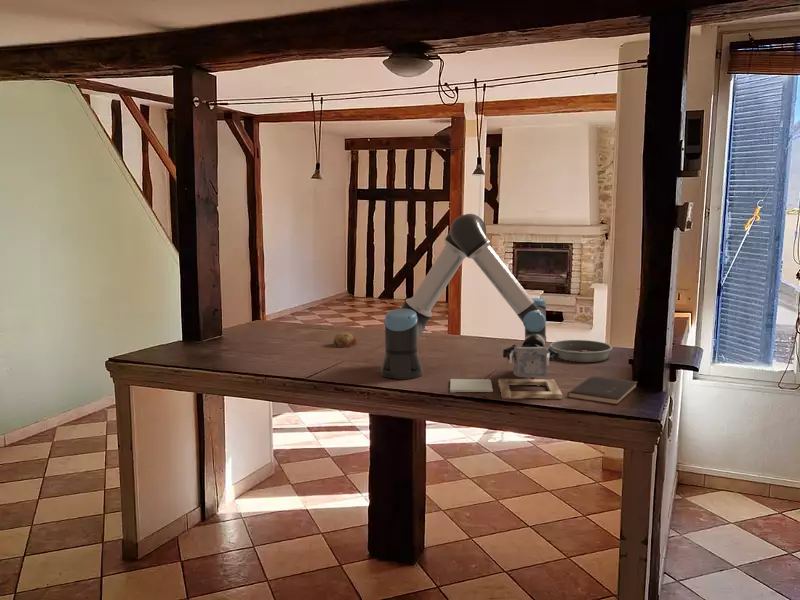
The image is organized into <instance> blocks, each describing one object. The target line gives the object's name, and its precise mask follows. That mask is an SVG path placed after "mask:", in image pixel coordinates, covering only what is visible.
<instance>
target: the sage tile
mask: <svg viewBox="0 0 800 600" xmlns="http://www.w3.org/2000/svg"><path fill="white" fill-rule="evenodd" d="M449 385H450V387H449V391H450V392H449V393H456V392H493V393H494V390H493V384H492V380H491V379H490V378H488V379H487V378H485V379H482V378H477V379H475V378H450V383H449Z"/></svg>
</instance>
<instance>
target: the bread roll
mask: <svg viewBox="0 0 800 600" xmlns="http://www.w3.org/2000/svg"><path fill="white" fill-rule="evenodd" d="M333 345H334V347H336V346H337V348H343V347H345V348H351V347H350V346H352V347H354V345H355V346H356V345H357V339H356V336H355V335H354V334H352V333H351V332H349V331H341V332H338V333H337V334H335V336H334V339H333Z"/></svg>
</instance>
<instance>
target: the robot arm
mask: <svg viewBox="0 0 800 600" xmlns="http://www.w3.org/2000/svg"><path fill="white" fill-rule="evenodd" d="M486 234H487V228H486V223H485V221H484V220H483V219H482V218H481V217H480V216H479V215H476V214H474V213H465V214H461V215H459V216H458V217H456V218H454V220H453V222H452V223H451V225H450V230H449V232H448V234H447V235H446V237H445V238H444V242H445V246H444V248H443V249H442V250H441V251H440V254H439V255H438V257H437V258H436V260H435V261H434V263H433V265H432V266H431V268H430V269H429V271H428V273H427V274H426V275H425V277H424V279H423V280H422V282H421V283H420V284H419V286H418V288H417V289H416V291H415V292H414V294H413V295H412V297H409V298H406V299H405V301H404V302H403V304H402V305H401V307H400V308H396V309H393V310H392V309H391V310H389V311H387V313H385V316H384V336H385V337H384V339H385V341H384V342H385V343H384V344H385V353H384V359H383V362H382V364H381V369H380V375H381V376H382V377H383V376H384V377H383V378H386V377H387V378H386V379H391V378H394V379H393V380H409V379H417V378H419V377H421V376H422V375H423V366H422V363H421V361H420V357H419V353H418V337H419V336H420V335H421V334H422V333H423V332H424V330H425V328H426V326H427V324H428V323H429V322H430V320H431V317H432V316H433V314H432V309H433V308H434V306H435V304H436V303H437V301H438V300H439V298H440V297H441V295H442V293H443V292H444V291H445V290H446V287H447V286H448V285H449V283H450V282H451V280H452V278H453V277H454V275H455V274H456V272H457V271H458V269H459V268H460V266H461V265H462V263H463V262H464V260H465V259H466V258H468V259H472V260H473V262H475V264H476V265H477V267H479V269H480V270H481V271H482V272H483V274H484V275H485V276H486V277H487V279H488V281H490V283H491V284H492V285H493V286H494V288H495V289H496V290H497V292H499V294H500V295H501V296H502V298H503V299H504V300H505V301H506V303H507V304H508V306H510V308H511V309H512V311H513V312H514V313H515V314H516V315H517V317H518V318H519V319H520V321H521V323H523V327H524V340H523V342H522V345H521V346H520V347H539V346H540V347H545V348H546V343H547V336H546V334H547V330H546V329H547V327H546V324H547V313H546V311H547V306H546V304H547V303H546V300H545V299H544V298H541V297H540V298H539V297H531V296H530V294H529V293H528V292H527V291H526V289H525V288H524V287H523V286H522V285H521V283H520V282H519V281H518V279H517V278H516V277H515V276H514V274H513V273H512V271H511V270H510V269H509V268H508V266H507V265H506V264H505V263H504V261H502V259H501V258H500V256H499V255H498V254H497V253H496V251H495V250H494V249H493V248H492V246H491V240H490V239H489V238H488V237H487V235H486ZM516 346H517V345H516V344H512V346H509V347H507V348H505V349H503V350H502V357H503V358H507V360H508V361H509V364H513V363H514V347H516ZM546 349H547V359H546V366H547V367H549V366H550V362H554V361H559V360H560V359H559V353H558V352H557V351H555V350H554V349H553V347H550V346H549V347H547V348H546Z"/></svg>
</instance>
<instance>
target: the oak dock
mask: <svg viewBox="0 0 800 600" xmlns="http://www.w3.org/2000/svg"><path fill="white" fill-rule="evenodd" d="M497 380H498V381H497V382H498V383H499V384H498V383H497V384H498V389H499V388H500V389H499V393H500V392H501V393H500V397H503V398H502V399H524V398H545V400H551V399H552V400H562V399H563V393H562V391H561V390H560V387H559V386H558V384H557V382H556V381H555V380H556V379H552V378H551V379H548V378H546V379H543V378H542V379H540V378H539V379H538V378H537V379H536V378H534V379H533V380H532V379H531V378H530V379H529V378H528V379H527V378H498V379H497ZM509 385H537V386H536V387H541V386H540V385H543V386H542V387H545V386H546V389H547V390H548V391H543V390H542V391H537V390H536V391H531V390H529V391H525V390H523V391H522V390H521V391H519V390H516V391H514V390H511V389H510V388H511V387H510V386H509ZM544 385H545V386H544ZM507 397H509V398H507ZM548 398H549V399H548Z"/></svg>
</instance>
